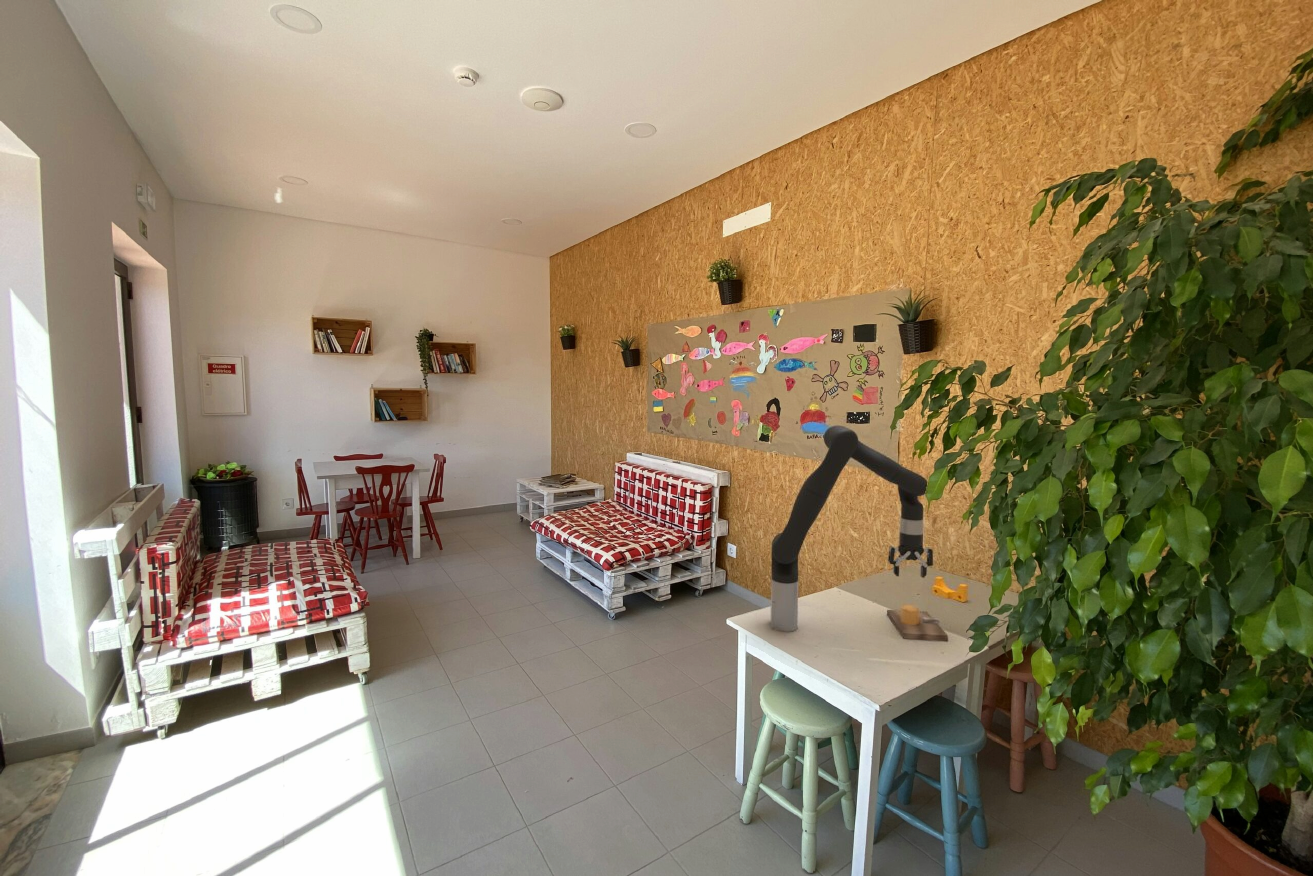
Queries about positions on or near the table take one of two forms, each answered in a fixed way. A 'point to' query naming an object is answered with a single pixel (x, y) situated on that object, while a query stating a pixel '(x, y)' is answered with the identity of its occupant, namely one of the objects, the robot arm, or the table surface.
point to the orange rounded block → (909, 614)
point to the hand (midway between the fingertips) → (909, 576)
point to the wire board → (918, 627)
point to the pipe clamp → (946, 592)
